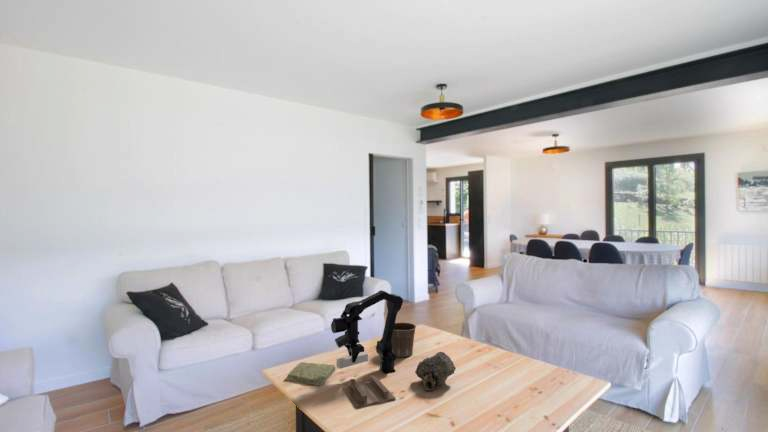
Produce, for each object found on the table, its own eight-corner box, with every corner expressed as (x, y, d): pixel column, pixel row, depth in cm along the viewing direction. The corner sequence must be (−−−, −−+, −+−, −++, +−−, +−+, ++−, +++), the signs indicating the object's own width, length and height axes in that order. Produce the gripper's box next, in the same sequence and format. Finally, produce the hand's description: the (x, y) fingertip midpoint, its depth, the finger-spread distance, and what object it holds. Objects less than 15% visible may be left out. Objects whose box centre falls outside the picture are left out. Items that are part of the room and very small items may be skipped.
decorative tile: (300, 367, 208) (300, 360, 208) (335, 370, 204) (335, 363, 204) (284, 383, 190) (284, 375, 190) (323, 386, 186) (322, 379, 185)
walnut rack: (378, 381, 189) (378, 373, 189) (395, 399, 171) (395, 391, 171) (343, 388, 183) (343, 379, 182) (356, 408, 164) (356, 399, 164)
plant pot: (390, 348, 235) (389, 321, 234) (416, 349, 232) (416, 322, 232) (386, 358, 218) (386, 330, 218) (415, 359, 216) (415, 331, 216)
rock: (440, 343, 193) (436, 348, 179) (460, 368, 189) (457, 375, 175) (413, 366, 195) (406, 373, 181) (432, 391, 191) (427, 400, 176)
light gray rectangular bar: (364, 359, 197) (364, 352, 197) (367, 361, 195) (367, 353, 195) (336, 366, 188) (336, 359, 188) (339, 368, 185) (339, 361, 185)
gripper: (331, 326, 197) (331, 356, 197) (341, 337, 179) (342, 370, 180) (352, 323, 201) (352, 353, 201) (364, 334, 184) (364, 367, 184)
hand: (352, 360), depth 191 cm, fingers closed on light gray rectangular bar, 4 cm apart
